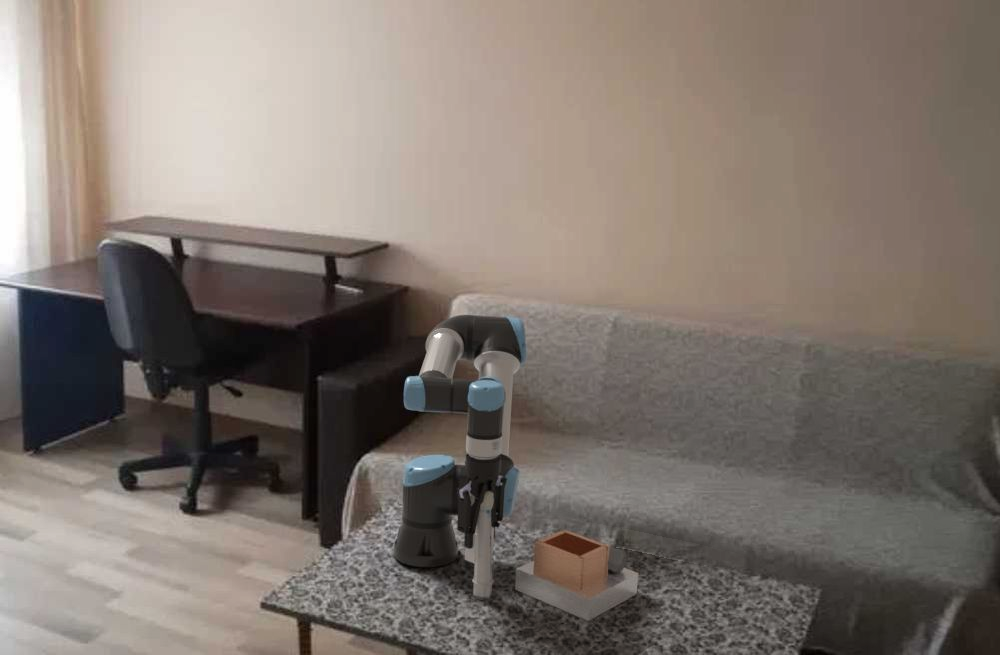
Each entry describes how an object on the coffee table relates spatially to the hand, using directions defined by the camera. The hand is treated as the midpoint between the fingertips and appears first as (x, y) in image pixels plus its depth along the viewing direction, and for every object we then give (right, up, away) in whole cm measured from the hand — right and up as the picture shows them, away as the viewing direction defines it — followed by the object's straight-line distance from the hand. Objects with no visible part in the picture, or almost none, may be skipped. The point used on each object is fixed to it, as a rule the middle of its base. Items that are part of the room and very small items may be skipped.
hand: (478, 557), depth 221 cm
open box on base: (+21, -9, +5) cm, 24 cm away
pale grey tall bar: (0, -9, +2) cm, 9 cm away
